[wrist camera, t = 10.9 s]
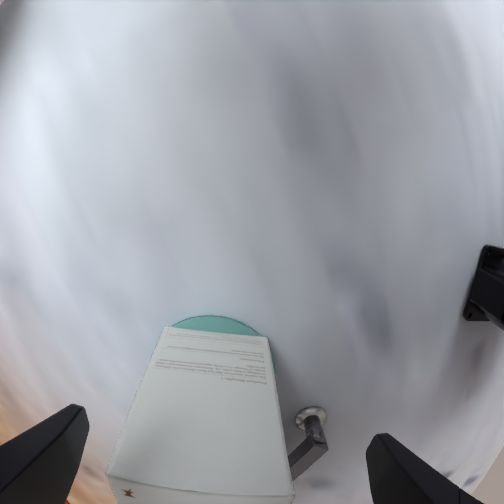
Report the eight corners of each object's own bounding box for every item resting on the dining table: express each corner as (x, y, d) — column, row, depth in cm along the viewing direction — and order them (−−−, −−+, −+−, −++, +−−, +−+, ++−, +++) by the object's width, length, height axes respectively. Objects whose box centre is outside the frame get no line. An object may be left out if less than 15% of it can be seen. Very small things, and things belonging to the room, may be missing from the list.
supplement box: (164, 401, 23) (128, 537, 10) (163, 322, 21) (99, 473, 8) (257, 412, 23) (266, 553, 11) (272, 335, 21) (299, 498, 9)
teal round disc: (284, 323, 21) (285, 326, 21) (264, 415, 24) (264, 419, 23) (153, 307, 21) (151, 310, 20) (155, 402, 23) (154, 406, 23)
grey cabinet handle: (329, 406, 24) (340, 441, 20) (303, 467, 26) (309, 498, 22) (236, 402, 23) (235, 439, 19) (226, 464, 26) (225, 497, 22)
